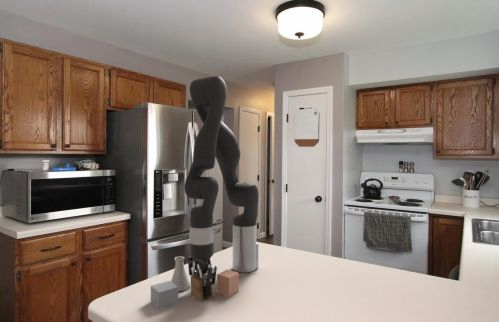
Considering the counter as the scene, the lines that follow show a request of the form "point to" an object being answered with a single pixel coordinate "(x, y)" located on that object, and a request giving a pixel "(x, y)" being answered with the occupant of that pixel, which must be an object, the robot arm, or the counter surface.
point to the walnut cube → (198, 287)
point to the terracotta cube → (227, 283)
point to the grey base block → (164, 294)
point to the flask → (180, 275)
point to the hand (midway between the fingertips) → (201, 293)
